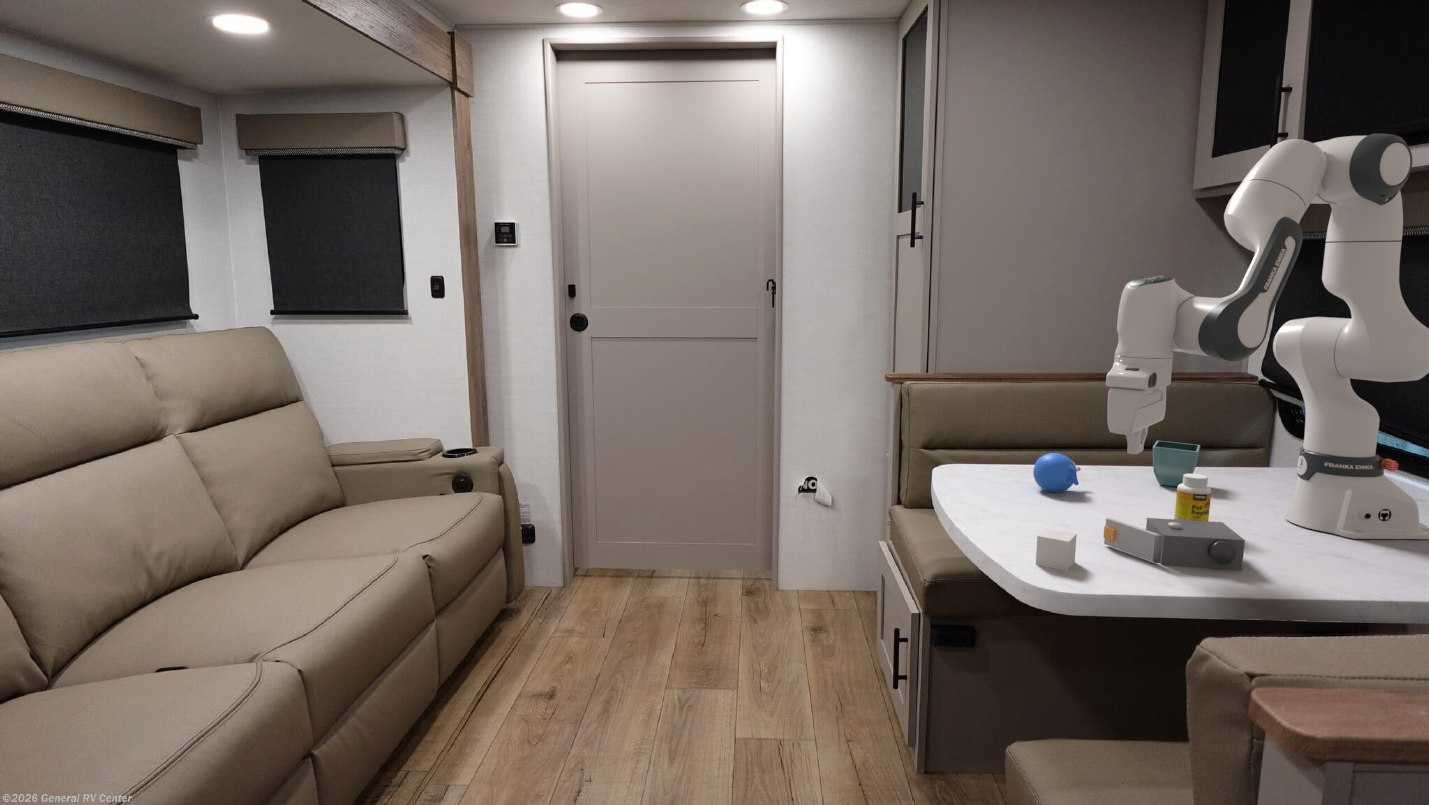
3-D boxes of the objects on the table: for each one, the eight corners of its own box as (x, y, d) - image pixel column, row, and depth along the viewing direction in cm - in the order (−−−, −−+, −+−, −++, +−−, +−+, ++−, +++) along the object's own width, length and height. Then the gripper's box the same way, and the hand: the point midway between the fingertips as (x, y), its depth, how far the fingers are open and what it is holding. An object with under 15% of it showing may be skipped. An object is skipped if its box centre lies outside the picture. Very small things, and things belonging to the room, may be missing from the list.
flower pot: (1196, 483, 195) (1200, 444, 193) (1194, 491, 187) (1197, 451, 186) (1153, 478, 199) (1156, 439, 198) (1149, 486, 192) (1152, 446, 190)
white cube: (1074, 562, 143) (1076, 533, 142) (1067, 571, 139) (1069, 541, 138) (1043, 556, 146) (1045, 528, 145) (1035, 565, 142) (1037, 535, 141)
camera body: (1219, 550, 149) (1222, 518, 148) (1245, 573, 138) (1249, 539, 137) (1144, 545, 151) (1147, 514, 151) (1164, 567, 140) (1167, 534, 139)
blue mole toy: (1101, 494, 185) (1104, 455, 184) (1061, 500, 180) (1064, 461, 179) (1057, 481, 196) (1059, 445, 194) (1018, 487, 191) (1020, 450, 189)
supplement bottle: (1188, 534, 158) (1194, 480, 156) (1166, 525, 163) (1171, 473, 161) (1214, 532, 159) (1220, 478, 157) (1191, 523, 164) (1196, 471, 162)
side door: (1108, 543, 151) (1110, 517, 150) (1161, 562, 141) (1164, 535, 141) (1101, 544, 151) (1103, 519, 150) (1154, 564, 141) (1156, 537, 140)
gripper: (1140, 366, 156) (1134, 441, 158) (1102, 376, 140) (1096, 459, 143) (1179, 369, 151) (1171, 446, 154) (1144, 380, 136) (1136, 465, 139)
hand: (1135, 453), depth 148 cm, fingers closed
